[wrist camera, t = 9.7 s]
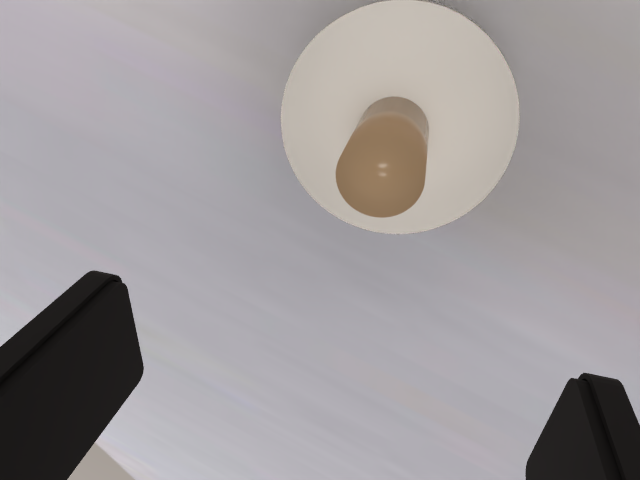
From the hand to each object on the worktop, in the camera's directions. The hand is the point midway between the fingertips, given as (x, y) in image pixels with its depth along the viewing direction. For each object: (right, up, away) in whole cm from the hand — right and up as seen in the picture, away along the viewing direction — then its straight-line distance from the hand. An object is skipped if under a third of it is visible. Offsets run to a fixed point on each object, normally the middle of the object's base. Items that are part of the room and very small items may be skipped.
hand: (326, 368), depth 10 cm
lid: (+4, +9, +14) cm, 17 cm away
